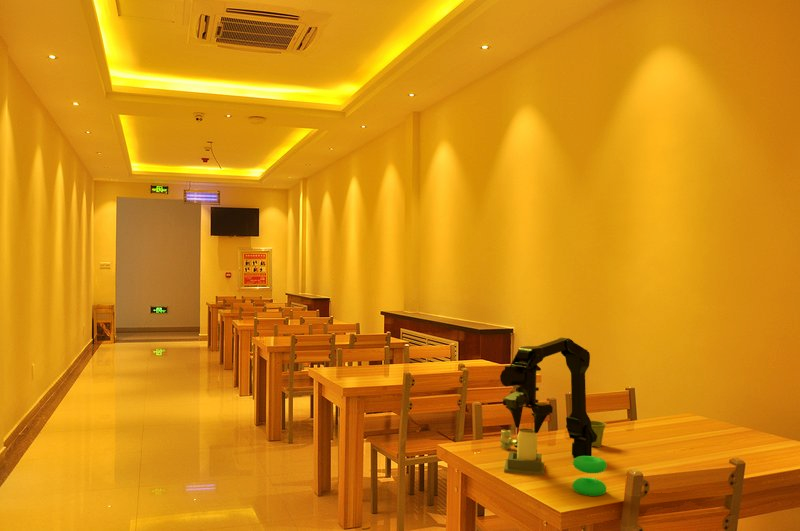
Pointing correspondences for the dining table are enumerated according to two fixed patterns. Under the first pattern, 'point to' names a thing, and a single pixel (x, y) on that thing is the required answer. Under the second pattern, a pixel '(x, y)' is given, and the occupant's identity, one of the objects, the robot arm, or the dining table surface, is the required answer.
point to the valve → (507, 440)
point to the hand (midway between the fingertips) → (526, 430)
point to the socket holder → (524, 465)
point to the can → (527, 444)
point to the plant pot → (598, 431)
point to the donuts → (589, 484)
